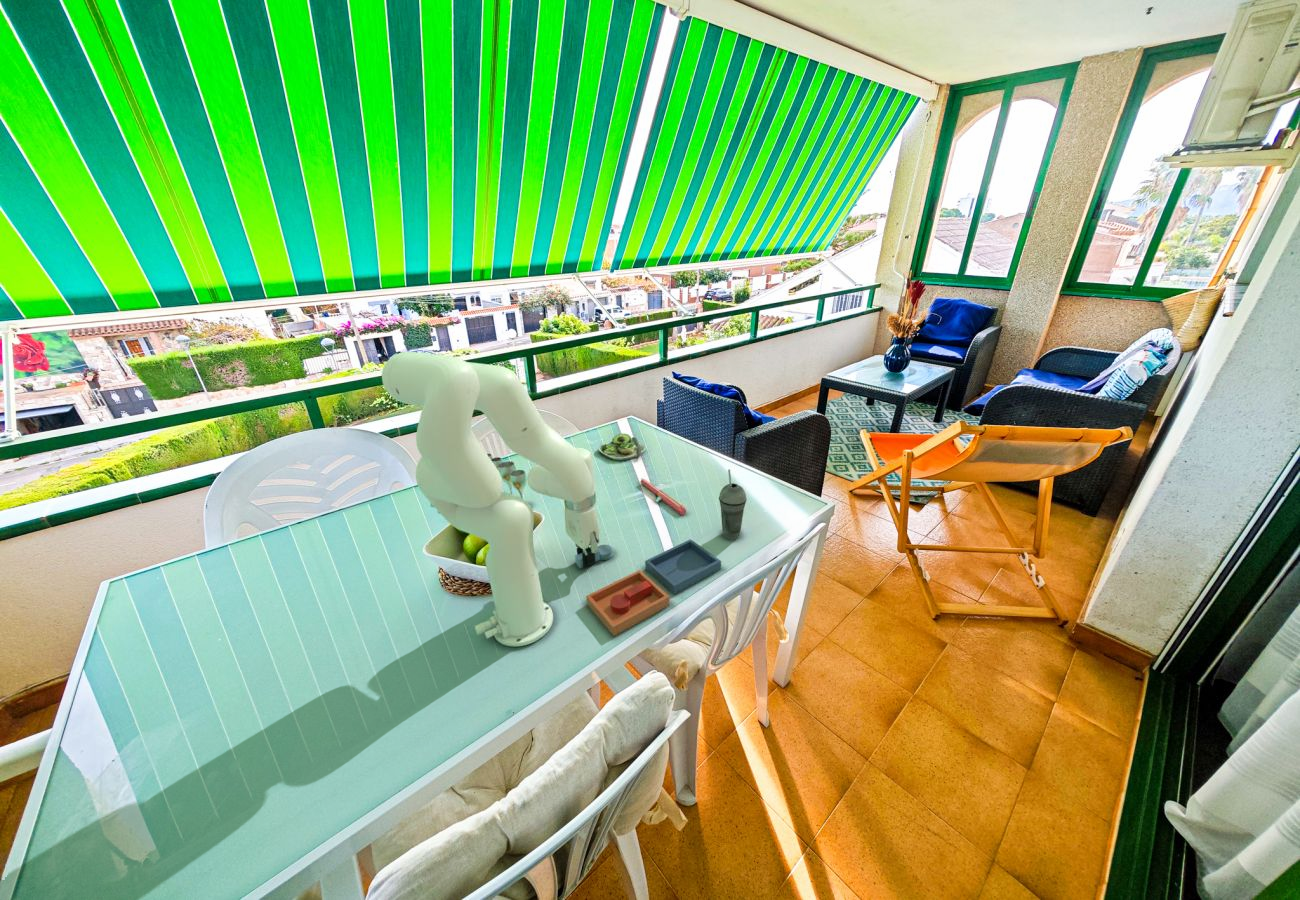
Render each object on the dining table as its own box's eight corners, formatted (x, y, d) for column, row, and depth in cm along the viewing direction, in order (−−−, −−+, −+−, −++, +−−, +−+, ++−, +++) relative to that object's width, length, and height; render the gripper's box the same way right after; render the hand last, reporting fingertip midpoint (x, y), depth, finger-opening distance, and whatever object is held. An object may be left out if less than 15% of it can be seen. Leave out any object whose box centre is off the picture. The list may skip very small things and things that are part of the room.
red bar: (677, 519, 135) (689, 510, 136) (675, 514, 134) (688, 505, 135) (636, 487, 154) (647, 480, 155) (634, 482, 153) (645, 475, 154)
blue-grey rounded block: (582, 571, 114) (581, 561, 113) (574, 562, 117) (573, 553, 116) (616, 556, 119) (615, 547, 118) (607, 548, 122) (606, 539, 121)
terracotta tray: (613, 636, 95) (612, 627, 94) (587, 604, 103) (586, 595, 102) (669, 605, 102) (669, 596, 101) (640, 577, 111) (639, 569, 110)
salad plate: (658, 454, 176) (658, 443, 174) (619, 467, 166) (618, 455, 164) (630, 439, 190) (630, 428, 188) (593, 450, 181) (592, 439, 179)
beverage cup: (744, 543, 122) (748, 477, 113) (716, 541, 123) (718, 475, 115) (744, 528, 128) (748, 464, 120) (718, 526, 130) (720, 462, 121)
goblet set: (535, 505, 144) (529, 467, 138) (520, 513, 140) (512, 474, 135) (487, 480, 161) (480, 445, 156) (472, 486, 157) (464, 451, 152)
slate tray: (674, 594, 105) (674, 586, 104) (645, 568, 114) (645, 560, 113) (720, 569, 113) (721, 560, 112) (690, 546, 121) (690, 539, 120)
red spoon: (643, 587, 107) (643, 577, 106) (654, 597, 104) (654, 587, 103) (607, 605, 102) (606, 596, 101) (617, 617, 99) (616, 607, 97)
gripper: (551, 491, 113) (559, 552, 121) (581, 518, 101) (588, 584, 109) (578, 482, 117) (585, 542, 124) (610, 507, 105) (615, 572, 112)
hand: (586, 561), depth 116 cm, fingers closed on blue-grey rounded block, 2 cm apart
